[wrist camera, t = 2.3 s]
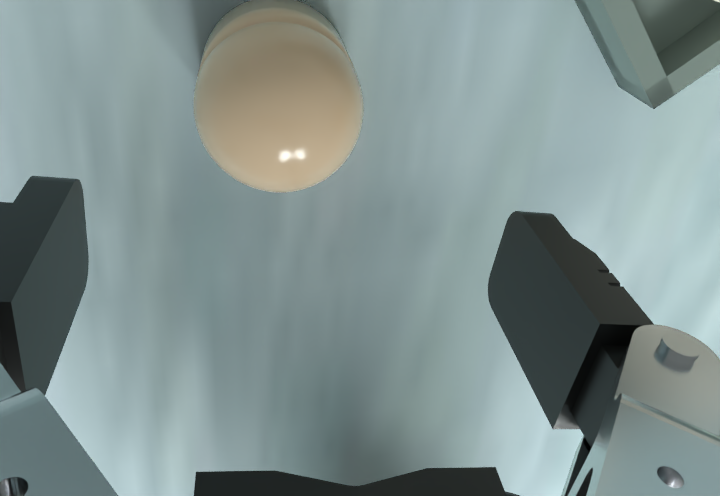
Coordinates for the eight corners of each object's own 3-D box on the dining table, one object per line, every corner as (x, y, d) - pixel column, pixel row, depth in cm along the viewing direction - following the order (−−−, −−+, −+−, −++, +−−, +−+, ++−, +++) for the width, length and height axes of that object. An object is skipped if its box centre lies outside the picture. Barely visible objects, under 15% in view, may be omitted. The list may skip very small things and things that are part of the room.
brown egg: (376, 83, 22) (411, 151, 17) (270, 166, 24) (273, 253, 19) (284, -38, 20) (294, 2, 15) (170, 62, 21) (143, 130, 16)
